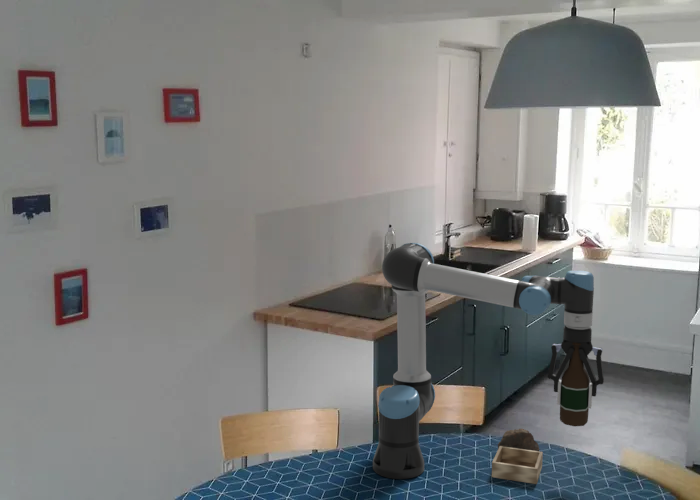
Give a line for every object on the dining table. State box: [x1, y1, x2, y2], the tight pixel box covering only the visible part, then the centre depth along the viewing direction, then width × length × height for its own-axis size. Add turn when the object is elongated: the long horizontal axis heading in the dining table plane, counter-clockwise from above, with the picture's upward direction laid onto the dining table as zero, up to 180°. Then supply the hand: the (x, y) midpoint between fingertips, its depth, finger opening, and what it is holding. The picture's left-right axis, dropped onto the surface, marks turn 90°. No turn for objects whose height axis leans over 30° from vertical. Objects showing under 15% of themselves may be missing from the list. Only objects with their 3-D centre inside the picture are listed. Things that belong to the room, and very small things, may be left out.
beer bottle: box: [559, 342, 591, 427], centre depth 210 cm, size 8×8×24 cm
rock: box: [496, 428, 540, 452], centre depth 230 cm, size 14×9×10 cm
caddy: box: [491, 446, 544, 485], centre depth 216 cm, size 13×13×4 cm
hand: (574, 404), depth 211 cm, fingers closed on beer bottle, 8 cm apart
